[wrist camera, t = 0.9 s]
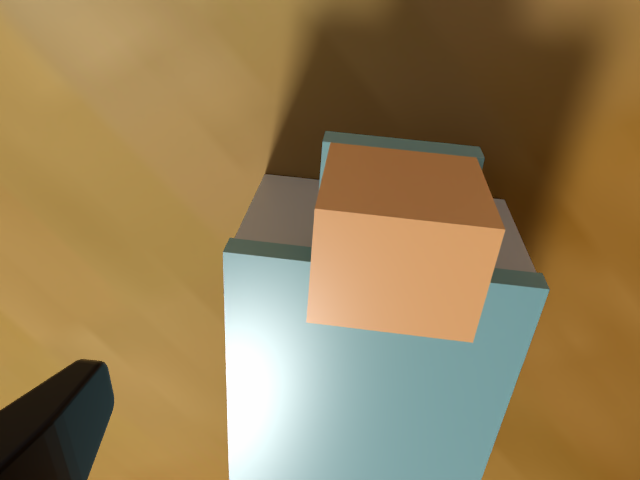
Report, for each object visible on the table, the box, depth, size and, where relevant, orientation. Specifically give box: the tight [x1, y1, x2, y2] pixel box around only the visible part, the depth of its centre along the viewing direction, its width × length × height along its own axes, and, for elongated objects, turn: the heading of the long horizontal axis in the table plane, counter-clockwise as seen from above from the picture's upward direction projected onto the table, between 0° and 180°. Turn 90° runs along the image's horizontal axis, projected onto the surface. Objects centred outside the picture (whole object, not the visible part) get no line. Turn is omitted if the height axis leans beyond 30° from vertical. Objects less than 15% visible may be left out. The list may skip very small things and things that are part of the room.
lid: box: [223, 131, 550, 480], centre depth 17 cm, size 9×18×4 cm, turn 176°
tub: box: [235, 174, 536, 273], centre depth 21 cm, size 9×14×5 cm, turn 176°
